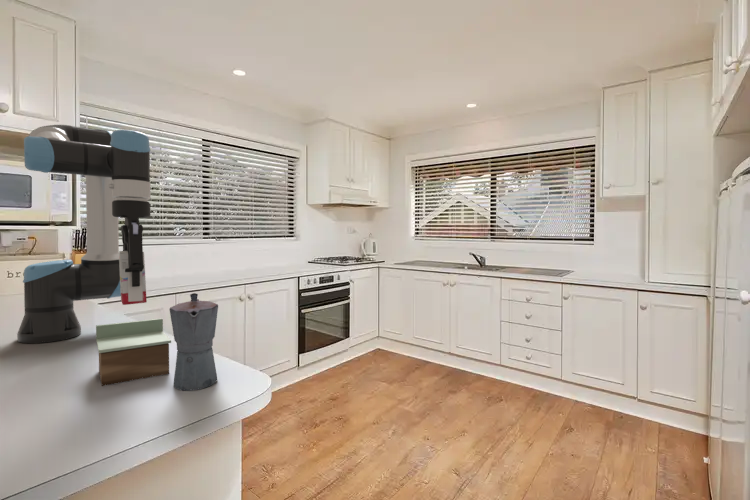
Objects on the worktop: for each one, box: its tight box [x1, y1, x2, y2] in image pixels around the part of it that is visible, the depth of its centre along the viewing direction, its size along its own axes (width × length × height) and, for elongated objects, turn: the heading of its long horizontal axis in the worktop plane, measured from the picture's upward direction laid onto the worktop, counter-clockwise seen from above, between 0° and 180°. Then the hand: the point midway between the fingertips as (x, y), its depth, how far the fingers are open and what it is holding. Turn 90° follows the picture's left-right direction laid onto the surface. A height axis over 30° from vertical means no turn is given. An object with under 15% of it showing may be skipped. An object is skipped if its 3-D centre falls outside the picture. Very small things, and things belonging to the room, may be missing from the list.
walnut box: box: [98, 343, 170, 387], centre depth 93 cm, size 11×13×7 cm
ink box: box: [119, 250, 148, 306], centre depth 92 cm, size 9×5×12 cm, turn 33°
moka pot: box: [169, 292, 219, 392], centre depth 87 cm, size 10×15×20 cm, turn 27°
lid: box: [95, 318, 172, 354], centre depth 93 cm, size 12×14×4 cm
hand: (133, 298), depth 92 cm, fingers closed on ink box, 9 cm apart
